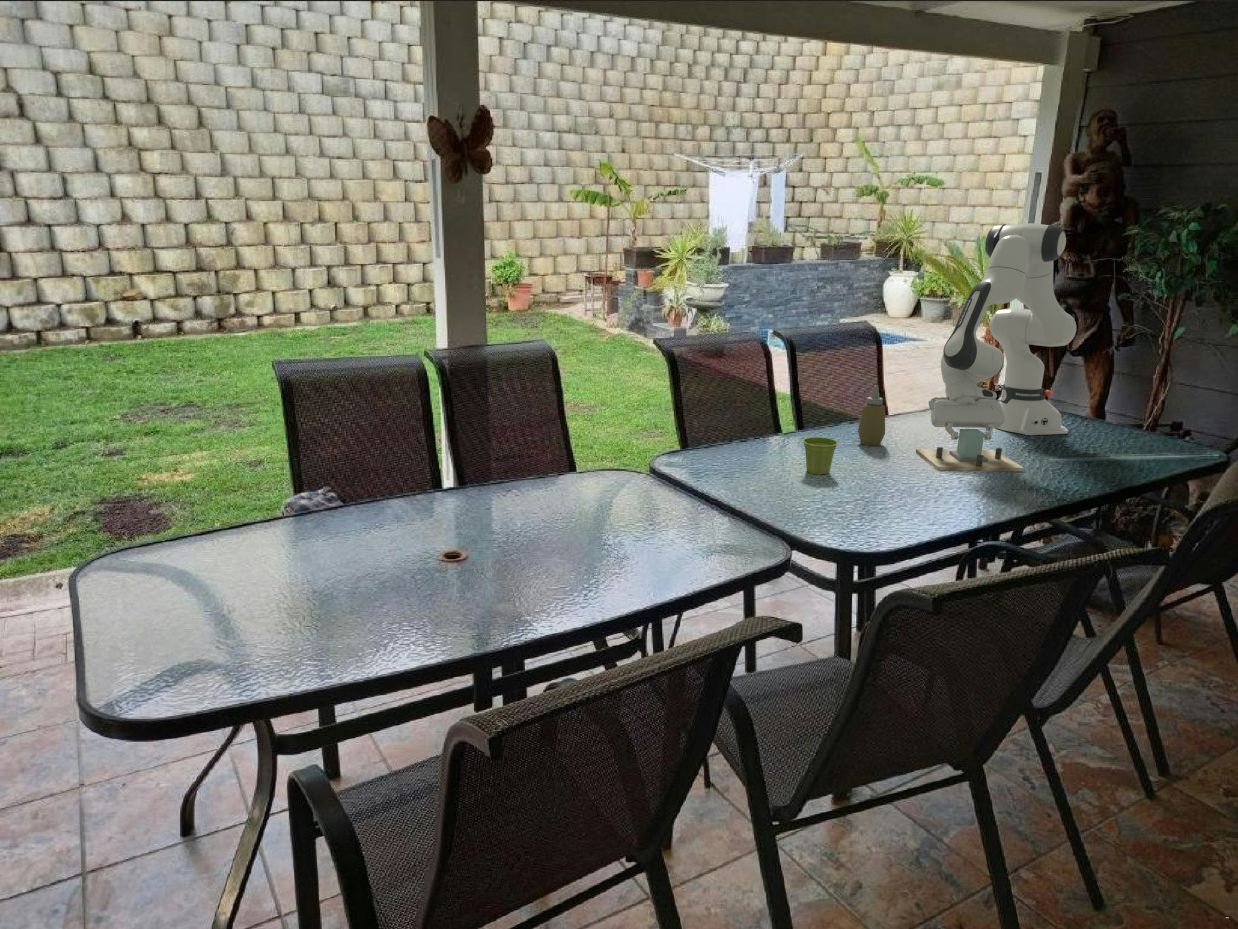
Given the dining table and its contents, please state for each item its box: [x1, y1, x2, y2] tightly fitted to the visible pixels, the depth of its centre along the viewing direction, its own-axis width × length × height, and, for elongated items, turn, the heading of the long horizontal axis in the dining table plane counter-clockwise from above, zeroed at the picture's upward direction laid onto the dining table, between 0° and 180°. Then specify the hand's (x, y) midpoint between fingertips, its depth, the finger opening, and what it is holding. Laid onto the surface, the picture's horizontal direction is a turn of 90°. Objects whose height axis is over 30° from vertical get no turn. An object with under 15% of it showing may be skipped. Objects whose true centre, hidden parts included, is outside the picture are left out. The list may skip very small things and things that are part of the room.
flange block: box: [949, 428, 988, 462], centre depth 246 cm, size 8×8×8 cm
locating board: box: [915, 446, 1025, 472], centre depth 247 cm, size 24×18×4 cm
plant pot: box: [802, 436, 839, 476], centre depth 235 cm, size 9×9×9 cm
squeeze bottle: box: [857, 385, 886, 447], centre depth 262 cm, size 8×8×18 cm
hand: (971, 439), depth 245 cm, fingers open, 8 cm apart
